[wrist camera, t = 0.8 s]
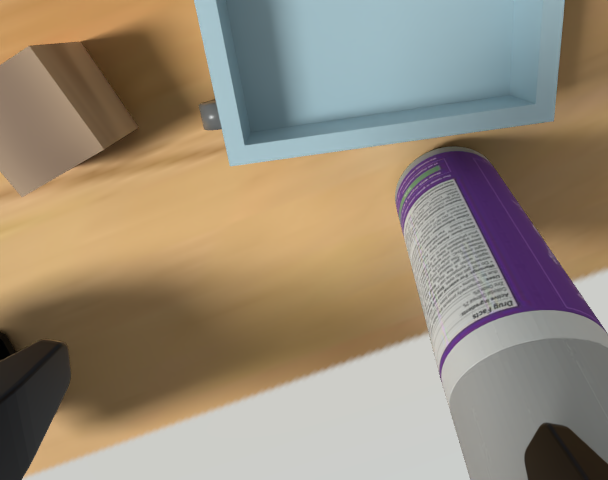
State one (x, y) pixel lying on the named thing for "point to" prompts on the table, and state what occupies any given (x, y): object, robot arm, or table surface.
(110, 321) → the table surface
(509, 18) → the cart
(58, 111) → the walnut block
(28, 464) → the robot arm
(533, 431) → the container
